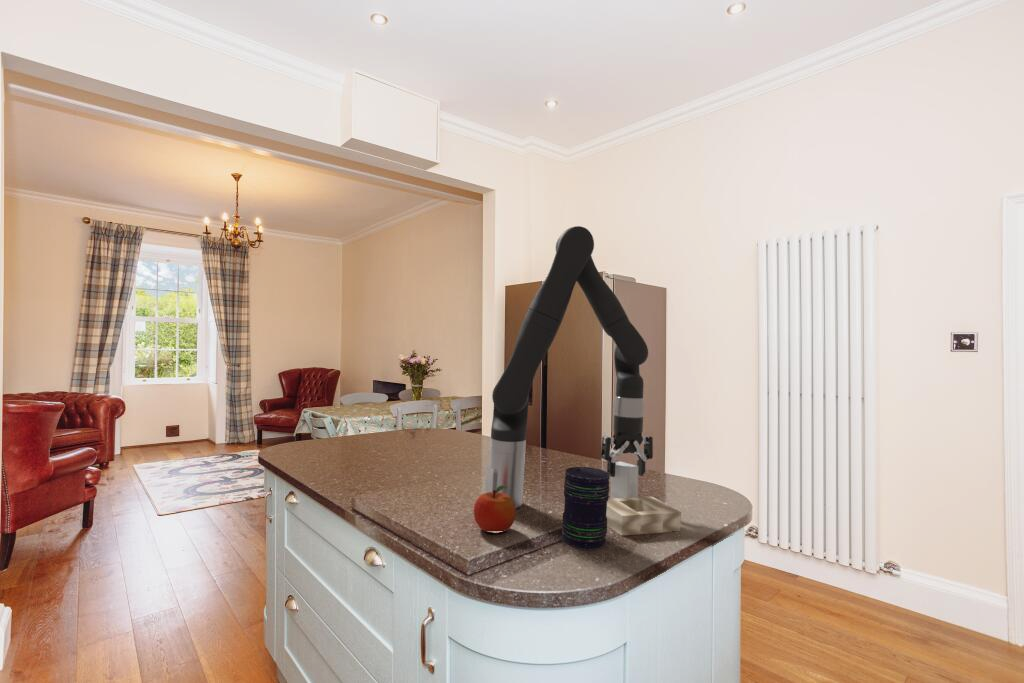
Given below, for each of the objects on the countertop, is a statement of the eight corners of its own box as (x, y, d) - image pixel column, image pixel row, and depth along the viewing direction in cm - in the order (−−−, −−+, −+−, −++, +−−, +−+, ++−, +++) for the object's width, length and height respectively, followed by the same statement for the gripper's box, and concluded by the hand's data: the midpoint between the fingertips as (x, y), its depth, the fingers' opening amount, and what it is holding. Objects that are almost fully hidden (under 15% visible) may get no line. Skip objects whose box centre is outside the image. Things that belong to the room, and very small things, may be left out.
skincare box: (637, 511, 132) (640, 465, 132) (627, 514, 129) (629, 467, 129) (619, 505, 137) (621, 460, 137) (608, 507, 134) (611, 462, 134)
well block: (621, 535, 115) (622, 515, 115) (596, 517, 126) (597, 499, 126) (680, 531, 120) (681, 512, 120) (651, 513, 131) (652, 496, 131)
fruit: (466, 524, 116) (468, 481, 116) (504, 521, 120) (506, 479, 120) (481, 540, 107) (483, 494, 107) (521, 536, 111) (524, 490, 111)
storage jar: (615, 545, 109) (619, 476, 109) (581, 553, 104) (585, 480, 104) (585, 529, 118) (589, 465, 118) (551, 536, 112) (555, 469, 112)
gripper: (611, 416, 127) (609, 480, 127) (660, 416, 132) (657, 478, 132) (597, 412, 134) (595, 473, 134) (644, 412, 139) (641, 470, 139)
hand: (626, 475), depth 133 cm, fingers open, 8 cm apart
